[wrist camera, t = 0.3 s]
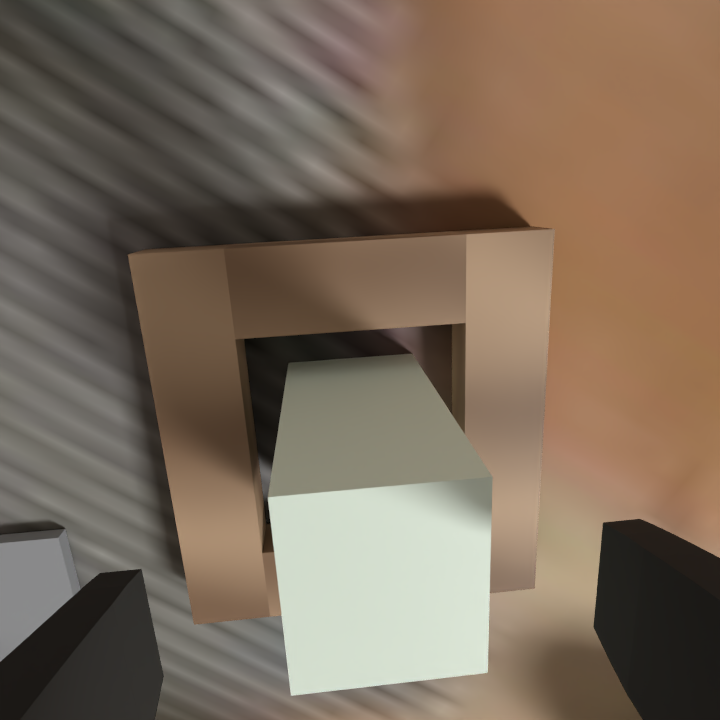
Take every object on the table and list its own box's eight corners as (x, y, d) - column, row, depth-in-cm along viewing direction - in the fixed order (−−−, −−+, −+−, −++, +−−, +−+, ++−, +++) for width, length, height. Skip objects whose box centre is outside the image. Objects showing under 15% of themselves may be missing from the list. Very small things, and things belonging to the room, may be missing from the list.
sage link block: (415, 476, 18) (487, 672, 11) (300, 487, 18) (290, 695, 10) (412, 353, 17) (492, 476, 9) (288, 362, 17) (267, 497, 9)
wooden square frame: (517, 558, 20) (534, 588, 18) (203, 590, 19) (194, 624, 17) (531, 226, 16) (554, 229, 15) (146, 249, 15) (127, 254, 14)
